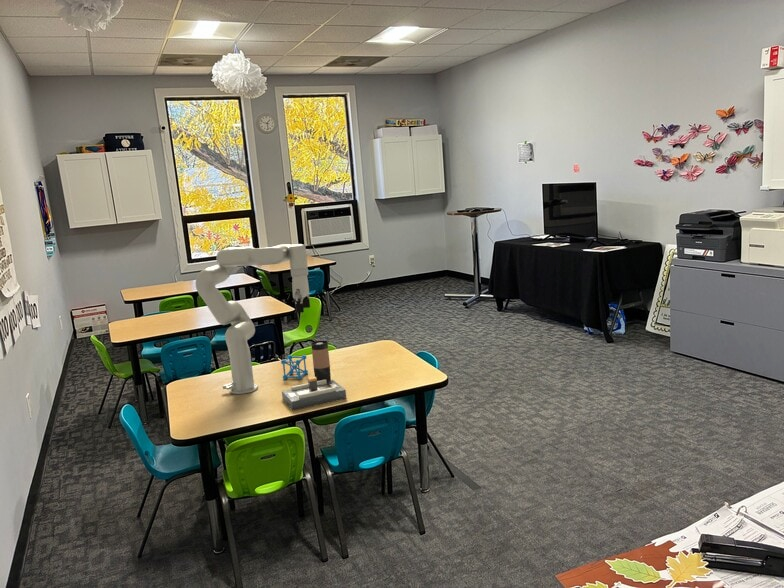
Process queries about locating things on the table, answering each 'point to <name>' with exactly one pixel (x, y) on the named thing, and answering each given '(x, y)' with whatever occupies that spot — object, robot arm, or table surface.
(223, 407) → the table surface
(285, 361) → the molecular structure
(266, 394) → the table surface
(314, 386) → the switch handle
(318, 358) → the travel mug
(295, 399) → the switch panel
